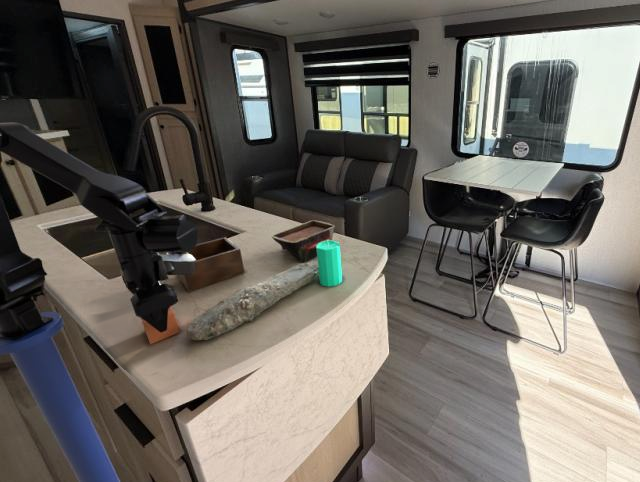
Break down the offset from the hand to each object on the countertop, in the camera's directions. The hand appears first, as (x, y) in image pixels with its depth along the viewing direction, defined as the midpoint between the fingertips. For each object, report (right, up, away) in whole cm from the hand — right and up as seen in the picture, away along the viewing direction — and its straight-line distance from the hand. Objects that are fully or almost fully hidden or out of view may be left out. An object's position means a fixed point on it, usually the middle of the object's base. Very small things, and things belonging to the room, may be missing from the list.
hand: (158, 320), depth 64 cm
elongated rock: (+17, +1, +12) cm, 21 cm away
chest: (-3, +5, +23) cm, 24 cm away
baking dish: (+19, +10, +37) cm, 43 cm away
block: (0, -3, +1) cm, 3 cm away
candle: (+31, +4, +20) cm, 37 cm away
